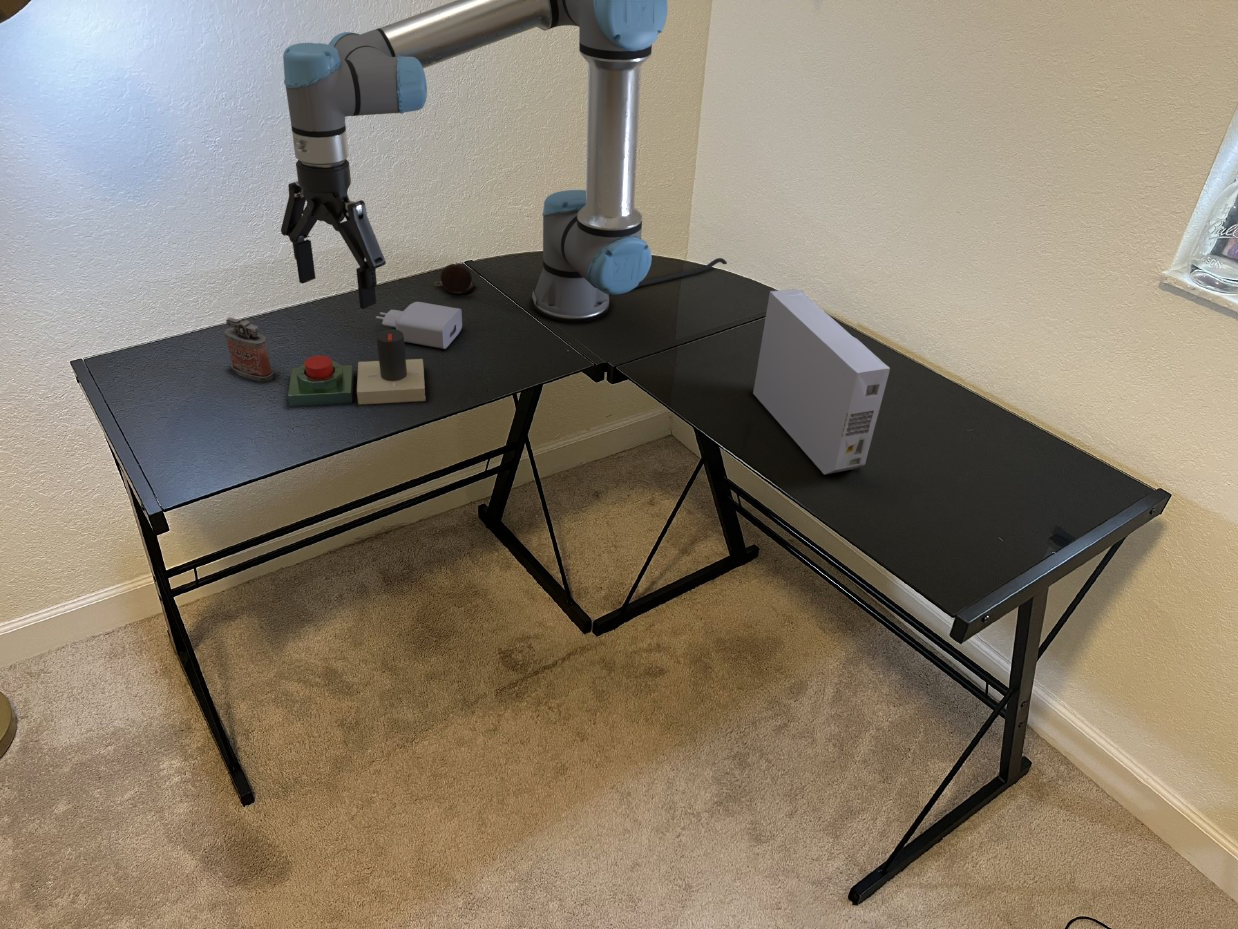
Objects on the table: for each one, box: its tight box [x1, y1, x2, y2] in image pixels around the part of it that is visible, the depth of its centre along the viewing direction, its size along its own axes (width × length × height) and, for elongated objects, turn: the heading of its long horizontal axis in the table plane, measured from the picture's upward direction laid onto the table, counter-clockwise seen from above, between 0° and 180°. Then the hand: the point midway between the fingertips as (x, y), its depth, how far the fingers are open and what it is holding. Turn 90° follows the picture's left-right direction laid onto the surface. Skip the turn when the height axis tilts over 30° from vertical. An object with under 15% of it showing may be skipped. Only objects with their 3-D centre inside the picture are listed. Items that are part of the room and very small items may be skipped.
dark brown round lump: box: [434, 261, 475, 295], centre depth 192 cm, size 8×8×7 cm
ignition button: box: [304, 355, 333, 379], centre depth 157 cm, size 4×4×2 cm
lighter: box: [223, 316, 274, 382], centre depth 160 cm, size 8×3×10 cm, turn 65°
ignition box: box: [287, 360, 355, 408], centre depth 159 cm, size 10×9×4 cm
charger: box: [375, 301, 463, 350], centre depth 177 cm, size 5×9×15 cm
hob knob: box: [375, 328, 407, 381], centre depth 159 cm, size 4×4×8 cm
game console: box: [752, 288, 891, 475], centre depth 152 cm, size 6×27×20 cm, turn 20°
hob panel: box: [356, 358, 426, 405], centre depth 162 cm, size 11×10×3 cm
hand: (337, 293), depth 150 cm, fingers open, 13 cm apart
